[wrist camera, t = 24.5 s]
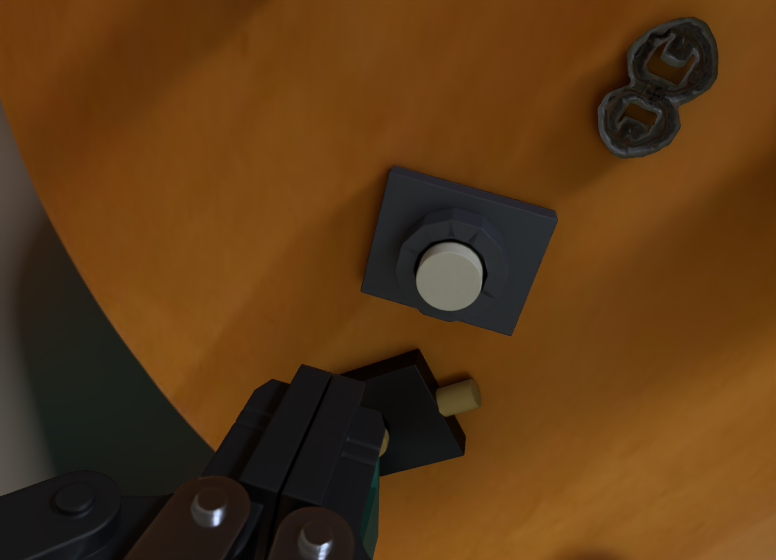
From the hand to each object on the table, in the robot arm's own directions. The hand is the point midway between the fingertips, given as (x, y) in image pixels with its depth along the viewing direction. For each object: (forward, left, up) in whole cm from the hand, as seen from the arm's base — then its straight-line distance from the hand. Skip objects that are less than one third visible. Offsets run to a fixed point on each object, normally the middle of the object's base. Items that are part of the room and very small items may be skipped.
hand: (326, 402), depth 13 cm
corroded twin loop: (-11, -6, -27) cm, 30 cm away
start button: (-3, +7, -23) cm, 25 cm away
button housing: (-3, +7, -27) cm, 28 cm away
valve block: (-2, +22, -27) cm, 35 cm away
